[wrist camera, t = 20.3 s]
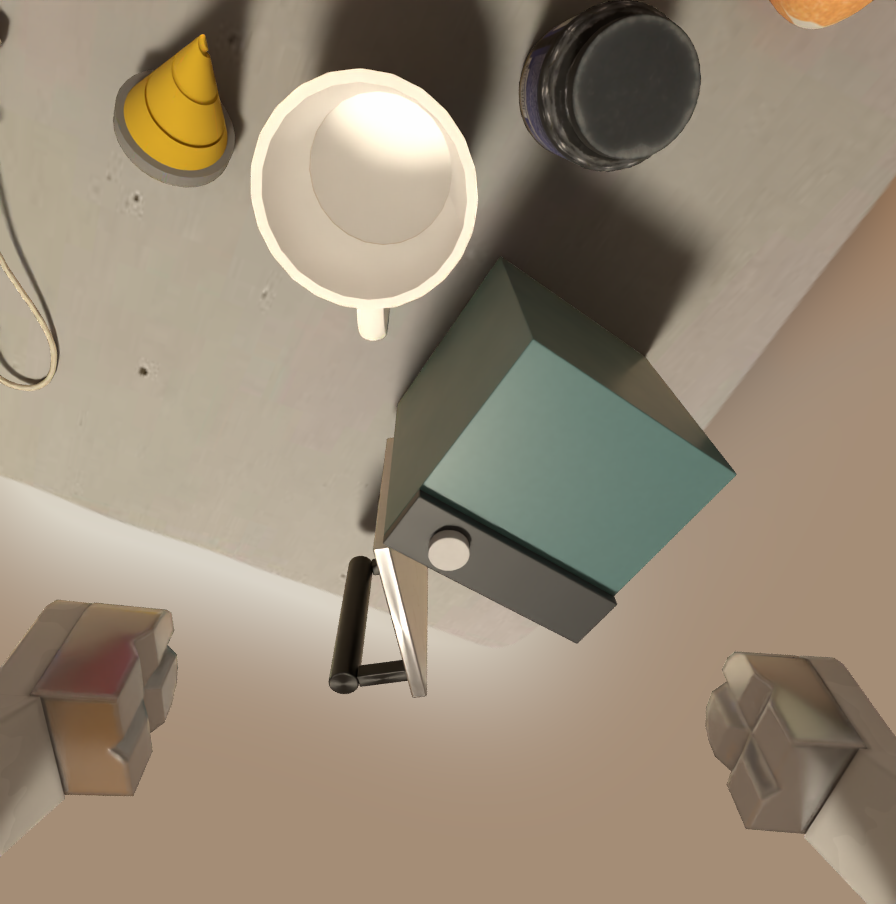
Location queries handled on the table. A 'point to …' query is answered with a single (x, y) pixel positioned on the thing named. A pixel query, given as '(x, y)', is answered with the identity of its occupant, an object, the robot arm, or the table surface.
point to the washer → (542, 458)
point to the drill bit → (176, 120)
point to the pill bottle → (610, 85)
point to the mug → (364, 191)
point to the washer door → (405, 605)
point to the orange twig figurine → (817, 11)
